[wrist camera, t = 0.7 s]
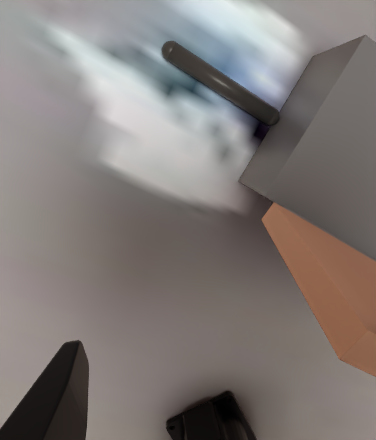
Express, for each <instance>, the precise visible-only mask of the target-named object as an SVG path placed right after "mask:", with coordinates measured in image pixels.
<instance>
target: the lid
mask: <svg viewBox="0 0 376 440" xmlns="http://www.w3.org/2000/svg"><path fill="white" fill-rule="evenodd" d="M261 220H262V222H263V224H264V226H265V227H266V229H267V231H268V233H269V235H270V236H271V238H272V240H273V242H274V244H275V245H276V247H277V249H278V251H279V252H280V254H281V256H282V258H283V260H284V261H285V263H286V265H287V267H288V269H289V270H290V272H291V274H292V276H293V277H294V279H295V281H296V283H297V285H298V286H299V288H300V290H301V292H302V294H303V295H304V297H305V299H306V301H307V302H308V304H309V306H310V308H311V310H312V311H313V313H314V315H315V317H316V319H317V320H318V322H319V324H320V326H321V327H322V329H323V331H324V333H325V335H326V336H327V338H328V340H329V342H330V344H331V345H332V347H333V349H334V351H335V352H336V354H337V356H338V358H339V359H340V360H342V361H344V362H346V363H348V364H350V365H352V366H354V367H356V368H358V369H360V370H363V371H365V372H367V373H369V374H371V375H373V376H375V377H376V260H375V259H374V258H372V257H370V256H368V255H367V254H365V253H363V252H362V251H360V250H358V249H357V248H355V247H353V246H351V245H350V244H348V243H346V242H345V241H343V240H341V239H340V238H338V237H336V236H334V235H333V234H331V233H329V232H328V231H326V230H324V229H323V228H321V227H319V226H317V225H316V224H314V223H312V222H311V221H309V220H307V219H306V218H304V217H302V216H300V215H299V214H297V213H295V212H294V211H292V210H290V209H288V208H287V207H285V206H284V207H282V206H280V205H278V204H277V203H275V202H274V203H273V204H272V206H271V207H270V208H269V210H268V211H267V212H266V214H265V215H264V217H263V218H262V219H261Z"/></svg>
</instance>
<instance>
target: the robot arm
mask: <svg viewBox="0 0 376 440" xmlns="http://www.w3.org/2000/svg"><path fill="white" fill-rule="evenodd" d="M88 382H89V363H88V359H87V356H86V353H85V350H84V347H83V344H82V342H81V341H79V340H77V341H70V342H66V343H64V344H63V345H62V347H61V348H60V349H59V351H58V352H57V353H56V355H55V356H54V357H53V359H52V360H51V361H50V363H49V364H48V365H47V367H46V368H45V369H44V371H43V372H42V373H41V375H40V376H39V377H38V379H37V380H36V382H35V383H34V384H33V386H32V387H31V388H30V390H29V391H28V392H27V394H26V395H25V396H24V398H23V399H22V400H21V402H20V403H19V404H18V406H17V407H16V408H15V410H14V411H13V412H12V414H11V415H10V416H9V418H8V419H7V421H6V422H5V423H4V425H3V426H2V427H1V429H0V440H85V438H86V430H87V412H88ZM228 398H230V399H228ZM171 425H174V426H171ZM166 429H167V431H168V433H169V434H170V436H171V437H172V439H173V440H257V439H256V437H255V435H254V433H253V431H252V429H251V427H250V425H249V423H248V422H247V420H246V418H245V416H244V414H243V412H242V410H241V408H240V406H239V404H238V403H237V401H236V399H235V397H234V395H233V394H232V393H231V392H227V393H224V394H222V395H220V396H218V397H216V398H214V399H212V400H210V401H208V402H206V403H204V404H201V405H199V406H197V407H195V408H193V409H191V410H189V411H187V412H185V413H183V414H181V415H179V416H176V417H174V418H172V419H170V420H168V421H167V423H166Z"/></svg>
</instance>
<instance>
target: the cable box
mask: <svg viewBox="0 0 376 440" xmlns="http://www.w3.org/2000/svg"><path fill="white" fill-rule="evenodd" d="M162 54H163V56H164V58H165V59H166V60H168V61H169V62H171V63H172V64H174V65H175V66H177V67H178V68H180V69H182V70H183V71H185V72H186V73H188V74H189V75H191V76H192V77H194V78H195V79H197V80H199V81H200V82H202V83H203V84H205V85H206V86H208V87H209V88H211V89H212V90H214V91H216V92H217V93H219V94H220V95H222V96H223V97H225V98H226V99H228V100H230V101H231V102H233V103H234V104H236V105H237V106H239V107H240V108H242V109H243V110H245V111H247V112H248V113H250V114H251V115H253V116H254V117H256V118H257V119H259V120H260V121H262V122H264V123H265V124H267V125H272V126H271V127H270V129H269V131H268V132H267V134H266V136H265V137H264V139H263V141H262V142H261V144H260V146H259V147H258V149H257V151H256V152H255V154H254V156H253V157H252V159H251V161H250V162H249V164H248V166H247V167H246V169H245V171H244V172H243V174H242V176H241V177H240V179H239V182H240V183H242V184H244V185H246V186H247V187H249V188H251V189H252V190H254V191H256V192H257V193H259V194H261V195H263V196H264V197H266V198H268V199H269V200H271V201H273V202H275V203H277V204H278V205H280V206H282V207H284V206H285V207H287V208H288V209H290V210H292V211H294V212H295V213H297V214H299V215H300V216H302V217H304V218H306V219H307V220H309V221H311V222H312V223H314V224H316V225H317V226H319V227H321V228H323V229H324V230H326V231H328V232H329V233H331V234H333V235H334V236H336V237H338V238H340V239H341V240H343V241H345V242H346V243H348V244H350V245H351V246H353V247H355V248H357V249H358V250H360V251H362V252H363V253H365V254H367V255H368V256H370V257H372V258H374V259H375V260H376V43H375V42H374V41H373V40H372V39H370V38H369V37H368V36H367V35H364V36H361V37H359V38H356V39H354V40H352V41H349V42H347V43H344V44H342V45H340V46H337V47H335V48H332V49H330V50H328V51H325V52H323V53H320V54H318V55H315V56H313V58H312V59H311V61H310V63H309V64H308V66H307V67H306V69H305V71H304V72H303V74H302V76H301V77H300V79H299V81H298V82H297V84H296V86H295V87H294V89H293V91H292V92H291V94H290V96H289V97H288V99H287V101H286V102H285V104H284V106H283V107H282V109H281V111H280V112H278V110H277V109H276V108H274V107H273V106H271V105H270V104H268V103H267V102H265V101H264V100H262V99H261V98H259V97H258V96H256V95H255V94H253V93H252V92H250V91H249V90H247V89H246V88H244V87H243V86H241V85H240V84H238V83H236V82H235V81H233V80H232V79H230V78H229V77H227V76H226V75H224V74H223V73H221V72H220V71H218V70H217V69H215V68H214V67H212V66H211V65H209V64H208V63H206V62H205V61H203V60H202V59H200V58H199V57H197V56H196V55H194V54H193V53H191V52H190V51H188V50H187V49H185V48H184V47H182V46H181V45H179V44H178V43H176V42H174V41H168V42H166V43H165V44H164V45H163V47H162Z"/></svg>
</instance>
